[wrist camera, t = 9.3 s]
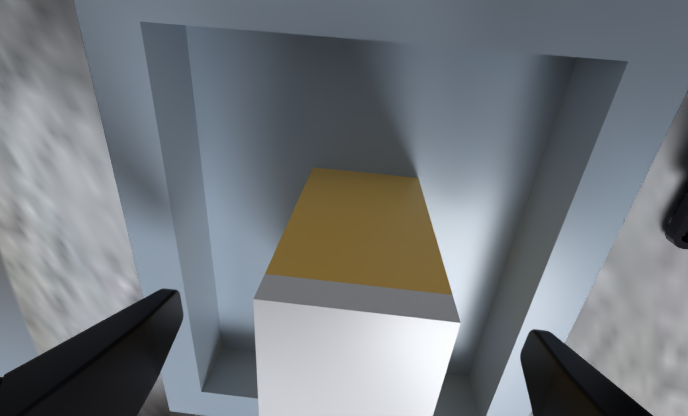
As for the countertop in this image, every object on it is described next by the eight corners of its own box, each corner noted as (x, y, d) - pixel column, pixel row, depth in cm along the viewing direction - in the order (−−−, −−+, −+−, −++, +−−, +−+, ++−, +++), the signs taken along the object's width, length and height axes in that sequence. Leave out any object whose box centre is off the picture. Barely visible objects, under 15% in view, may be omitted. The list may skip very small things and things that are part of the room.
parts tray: (638, -2, 10) (738, -14, 7) (489, 386, 17) (510, 453, 14) (140, -39, 10) (58, -64, 8) (201, 352, 17) (169, 411, 15)
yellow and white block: (418, 178, 12) (460, 323, 6) (396, 296, 14) (412, 485, 8) (313, 167, 12) (253, 299, 6) (308, 286, 14) (261, 465, 8)
